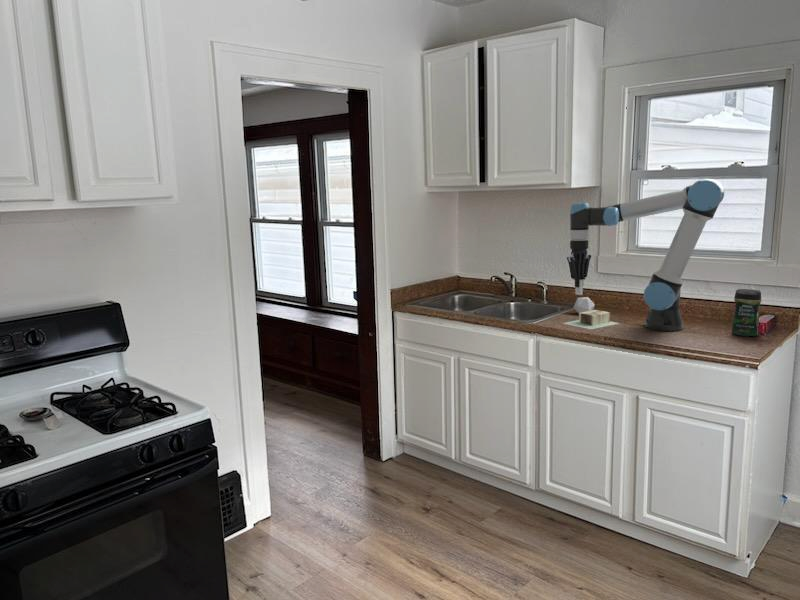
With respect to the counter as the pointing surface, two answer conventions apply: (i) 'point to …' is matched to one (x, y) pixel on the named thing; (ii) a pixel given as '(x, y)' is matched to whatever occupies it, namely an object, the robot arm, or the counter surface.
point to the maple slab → (594, 317)
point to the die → (583, 305)
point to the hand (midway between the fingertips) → (578, 294)
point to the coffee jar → (746, 312)
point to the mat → (576, 323)
